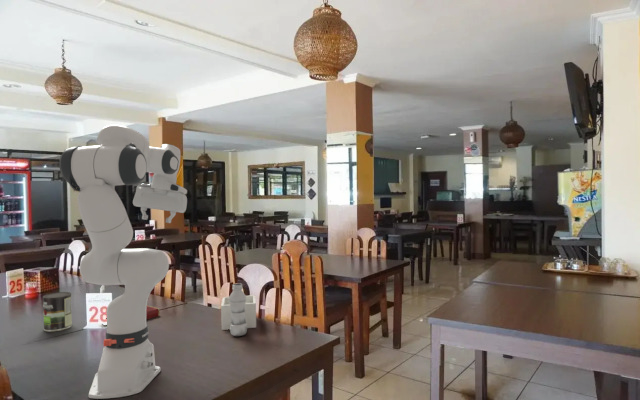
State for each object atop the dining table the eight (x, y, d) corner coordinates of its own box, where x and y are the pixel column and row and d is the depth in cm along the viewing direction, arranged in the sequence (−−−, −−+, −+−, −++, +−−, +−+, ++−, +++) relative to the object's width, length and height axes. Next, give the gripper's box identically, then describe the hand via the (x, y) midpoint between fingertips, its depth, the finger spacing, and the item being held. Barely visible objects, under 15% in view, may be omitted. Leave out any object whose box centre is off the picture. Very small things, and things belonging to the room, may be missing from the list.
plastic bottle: (243, 338, 157) (242, 286, 157) (227, 337, 158) (225, 286, 158) (249, 332, 163) (248, 282, 163) (233, 332, 165) (232, 282, 164)
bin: (256, 327, 170) (255, 303, 170) (221, 330, 167) (220, 305, 167) (255, 317, 184) (255, 295, 183) (223, 319, 181) (222, 297, 181)
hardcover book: (159, 316, 189) (159, 307, 189) (115, 330, 172) (115, 320, 172) (144, 313, 196) (143, 304, 196) (100, 325, 178) (99, 315, 178)
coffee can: (52, 333, 168) (51, 298, 168) (38, 329, 173) (37, 296, 173) (77, 325, 177) (76, 293, 177) (63, 322, 182) (62, 291, 182)
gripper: (133, 181, 158) (126, 216, 156) (185, 188, 157) (178, 223, 155) (141, 184, 164) (134, 218, 162) (191, 191, 163) (184, 225, 161)
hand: (156, 221), depth 158 cm, fingers open, 8 cm apart
